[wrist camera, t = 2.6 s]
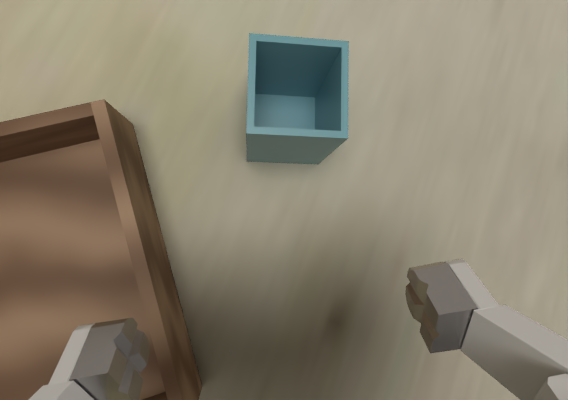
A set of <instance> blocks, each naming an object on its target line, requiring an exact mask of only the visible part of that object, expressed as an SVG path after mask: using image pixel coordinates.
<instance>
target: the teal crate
mask: <svg viewBox="0 0 568 400" xmlns="http://www.w3.org/2000/svg"><path fill="white" fill-rule="evenodd" d="M348 56H349V41H339V40H326V39H314V38H302V37H290V36H277V35H265V34H253V33H249V60H248V94H247V129H246V141H247V161H248V162H273V163H298V164H319V163H320V162H321V161H322V160H323V159H325V158H326V157H327V156H328V155H329V154H330V153H332V152H333V151H334V150H335V149H336V148H337V147H339V146H340V145H341V144H342V143H343V142H344V141H346V140H347V139H348Z"/></svg>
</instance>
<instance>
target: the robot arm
mask: <svg viewBox="0 0 568 400" xmlns="http://www.w3.org/2000/svg"><path fill="white" fill-rule="evenodd" d="M407 277H408V279H409V281H410V283H409V284H408V285H407V286H406V300H407V304H408V307H409V310H410V312H411V314H412V317H413V318H414V319H416V320H417V321H418V322H420V323H421V327H420V333H421V335H422V337H423V339H424V342H425V344H426V346H427V348H428V350H429V352H430V353H436V352H443V351H450V350H457V349H461V351H462V352H463V353H464V354H465V355H467V356H468V357H469V358H470V359H471V360H473V361H474V362H475V363H476V364H478V365H479V366H480V367H481V368H482V369H484V370H485V371H486V372H487V373H488V374H490V375H491V376H492V377H493V378H495V379H496V380H497V381H498V382H499V383H501V384H502V385H503V386H504V387H505V388H507V389H508V390H509V391H510V392H512V393H513V394H514V395H515V396H516V397H518V398H519V399H520V400H568V339H566V338H564V337H562V336H561V335H559V334H557V333H555V332H553V331H552V330H550V329H548V328H546V327H544V326H543V325H541V324H539V323H537V322H535V321H534V320H532V319H530V318H528V317H526V316H525V315H523V314H521V313H519V312H517V311H516V310H514V309H512V308H510V307H508V306H507V305H499V304H498V303H497V301H496V300H495V299H494V298H493V296H492V295H491V294H490V292H489V291H488V290H487V288H486V287H485V286H484V284H483V283H482V282H481V280H480V279H479V278H478V276H477V275H476V274H475V273H474V271H473V270H472V269H471V267H470V266H469V265H468V263H467V262H466V261H465V260H463V259H456V260H451V261H446V262H438V263H432V264H427V265H422V266H417V267H412V268H409V270H408V274H407ZM137 325H138V323H137V322H136V321H135V320H134V318H133V317H132V318H126V319H119V320H112V321H106V322H99V323H93V324H87V325H81V326H78V327H77V328H76V329H75V330H74V331H73V332H72V335H71V337H70V339H69V341H68V343H67V345H66V347H65V350H64V352H63V354H62V356H61V358H60V360H59V362H58V365H57V367H56V369H55V371H54V373H53V375H52V377H51V379H50V382H49V384H48V385H43V386H42V387H41V388H40V389H39V390H38V391H37V392H36V393H35V394H34V395H33V396H32V397H31V398H30V399H29V400H139V397H140V393H141V389H142V385H143V378H142V376H141V374H140V373H141V372H142V370H143V369H144V368H145V367H146V365H147V364H148V359H149V341H148V338H147V336H146V335H145V333H144V332H142V331H139V330H137Z"/></svg>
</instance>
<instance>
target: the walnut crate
mask: <svg viewBox="0 0 568 400" xmlns="http://www.w3.org/2000/svg"><path fill="white" fill-rule="evenodd" d="M132 317H133V318H134V320H135V321H136V322H137V323H138V325H137V330H139V331H142V332H144V333H145V335H146V336H147V338H148V341H149V359H148V364H147V365H146V367H145V368H144V369H143V370H142V372H141V373H140V374H141V376H142V378H143V385H142V389H141V393H140V397H139V400H198V399H199V396H200V392H201V389H202V384H201V381H200V377H199V373H198V369H197V366H196V362H195V358H194V354H193V350H192V347H191V343H190V339H189V335H188V331H187V328H186V324H185V320H184V316H183V313H182V309H181V305H180V301H179V297H178V294H177V290H176V286H175V282H174V279H173V275H172V271H171V267H170V263H169V260H168V256H167V252H166V248H165V244H164V241H163V237H162V233H161V229H160V226H159V222H158V218H157V214H156V210H155V207H154V203H153V199H152V195H151V192H150V188H149V184H148V180H147V176H146V173H145V169H144V165H143V161H142V157H141V154H140V150H139V146H138V142H137V139H136V135H135V131H134V127H133V124H132V123H131V122H129V121H128V120H127V119H126V118H125V117H124V116H123V115H121V114H120V113H119V112H118V111H117V110H116V109H114V108H113V107H112V106H111V105H110V104H109V103H108V102H106V101H105V100H99V101H95V102H90V103H86V104H81V105H76V106H72V107H67V108H63V109H58V110H54V111H49V112H45V113H40V114H36V115H31V116H27V117H22V118H18V119H13V120H9V121H4V122H0V400H29V399H30V398H31V397H32V396H33V395H34V394H35V393H36V392H37V391H38V390H39V389H40V388H41V387H42V386H43V385H48V384H49V382H50V379H51V377H52V375H53V373H54V371H55V369H56V367H57V365H58V362H59V360H60V358H61V356H62V354H63V352H64V350H65V347H66V345H67V343H68V341H69V339H70V337H71V335H72V332H73V331H74V330H75V329H76V328H77V327H78V326H81V325H87V324H93V323H99V322H106V321H112V320H119V319H126V318H132Z"/></svg>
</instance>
